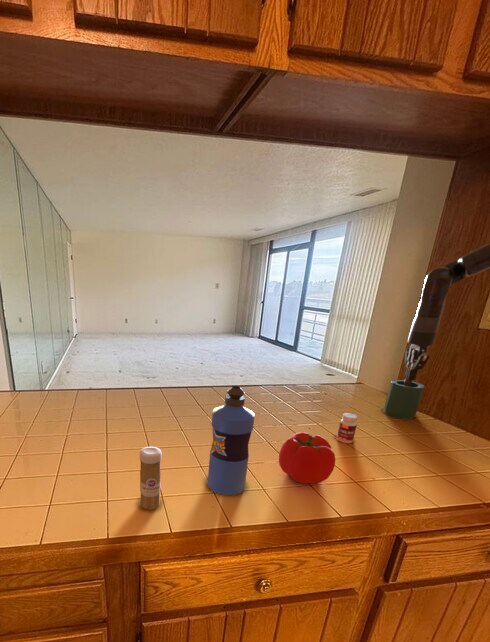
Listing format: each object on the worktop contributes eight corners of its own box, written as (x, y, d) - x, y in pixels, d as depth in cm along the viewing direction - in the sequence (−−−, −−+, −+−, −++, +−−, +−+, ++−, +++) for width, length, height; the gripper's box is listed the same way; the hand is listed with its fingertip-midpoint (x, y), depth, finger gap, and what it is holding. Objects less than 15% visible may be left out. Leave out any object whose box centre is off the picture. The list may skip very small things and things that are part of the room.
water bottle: (219, 499, 79) (229, 396, 69) (200, 479, 87) (206, 383, 77) (253, 490, 82) (267, 391, 73) (231, 471, 90) (241, 379, 81)
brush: (403, 410, 132) (417, 364, 125) (407, 414, 129) (421, 366, 122) (391, 409, 133) (404, 363, 126) (395, 413, 129) (409, 366, 122)
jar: (408, 410, 135) (417, 381, 130) (419, 420, 126) (429, 389, 121) (379, 408, 137) (387, 379, 132) (388, 417, 128) (397, 386, 123)
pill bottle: (336, 441, 108) (342, 417, 105) (335, 435, 112) (341, 411, 109) (353, 444, 106) (359, 419, 103) (352, 438, 110) (358, 414, 107)
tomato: (282, 458, 97) (288, 424, 93) (333, 471, 91) (342, 435, 87) (269, 481, 87) (275, 443, 83) (326, 497, 80) (336, 458, 76)
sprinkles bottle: (144, 512, 74) (144, 457, 69) (137, 500, 78) (136, 447, 73) (163, 507, 76) (165, 453, 71) (155, 496, 80) (156, 444, 75)
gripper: (446, 333, 112) (429, 384, 119) (426, 328, 125) (412, 374, 131) (420, 332, 114) (405, 383, 120) (403, 327, 126) (390, 373, 133)
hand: (409, 378), depth 126 cm, fingers closed on brush, 2 cm apart
